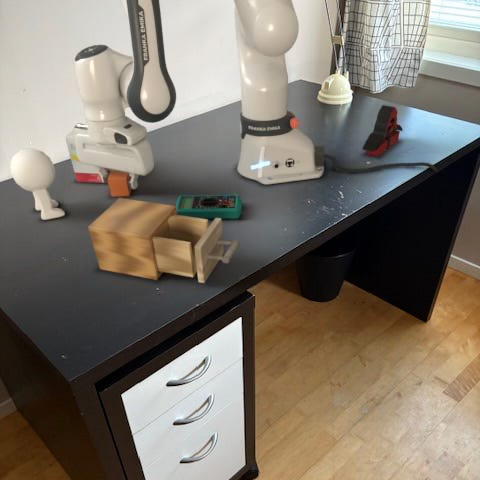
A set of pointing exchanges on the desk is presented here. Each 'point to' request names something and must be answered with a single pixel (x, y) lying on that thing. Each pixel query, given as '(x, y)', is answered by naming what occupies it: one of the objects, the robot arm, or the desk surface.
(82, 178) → the ink box
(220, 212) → the digital multimeter
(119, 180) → the block
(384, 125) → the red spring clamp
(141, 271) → the cabinet
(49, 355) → the desk surface
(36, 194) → the toy character
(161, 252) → the drawer
